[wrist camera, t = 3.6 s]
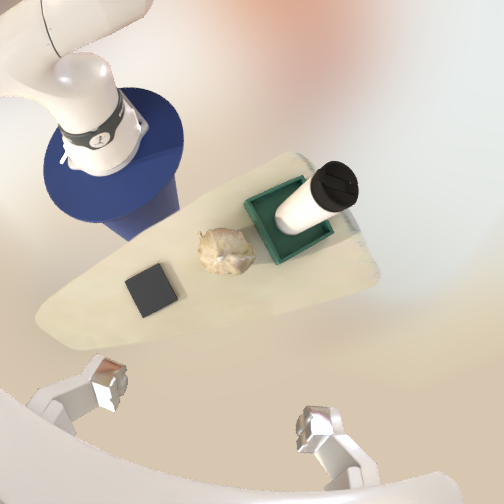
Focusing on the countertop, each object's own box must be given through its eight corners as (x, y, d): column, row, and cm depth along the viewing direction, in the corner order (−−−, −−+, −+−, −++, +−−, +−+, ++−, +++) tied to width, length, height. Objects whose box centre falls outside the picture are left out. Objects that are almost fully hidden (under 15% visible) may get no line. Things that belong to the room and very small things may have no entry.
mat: (125, 281, 44) (124, 281, 43) (159, 263, 45) (158, 263, 45) (143, 317, 44) (143, 318, 43) (177, 299, 45) (177, 299, 45)
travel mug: (273, 199, 51) (319, 152, 31) (306, 207, 52) (363, 167, 32) (269, 232, 50) (316, 198, 30) (303, 238, 51) (363, 211, 31)
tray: (243, 203, 50) (245, 199, 47) (298, 179, 53) (302, 174, 50) (275, 265, 50) (279, 264, 47) (328, 234, 53) (334, 232, 50)
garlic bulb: (244, 260, 51) (275, 265, 42) (207, 286, 47) (232, 297, 39) (221, 215, 48) (248, 210, 39) (181, 239, 45) (200, 240, 36)
